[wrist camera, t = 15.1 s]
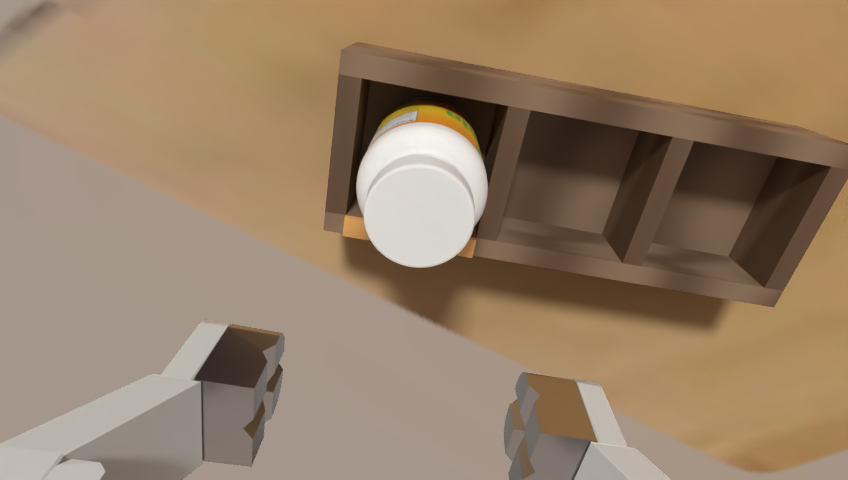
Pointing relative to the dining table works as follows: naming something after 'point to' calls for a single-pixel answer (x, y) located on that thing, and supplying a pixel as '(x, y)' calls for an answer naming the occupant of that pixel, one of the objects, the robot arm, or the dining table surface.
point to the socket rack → (605, 176)
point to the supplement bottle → (422, 183)
